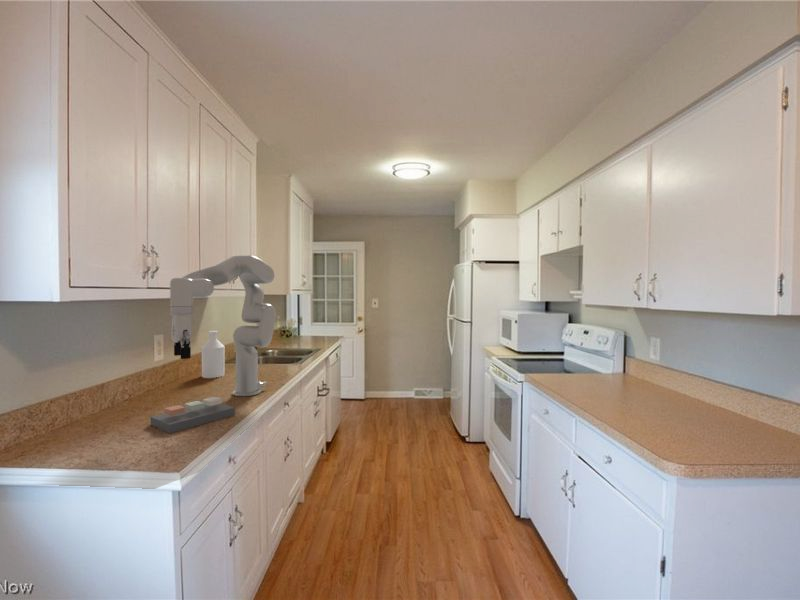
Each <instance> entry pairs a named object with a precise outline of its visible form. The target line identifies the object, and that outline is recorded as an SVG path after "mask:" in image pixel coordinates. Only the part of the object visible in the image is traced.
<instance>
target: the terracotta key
mask: <svg viewBox="0 0 800 600" xmlns="http://www.w3.org/2000/svg"><path fill="white" fill-rule="evenodd" d="M163 410H164V412H163V414H168V415H170V416H172V415H176V414H180V413H184V412H185V407H184V406H183V405H179V404H178V405H172V406H168V407H164V409H163Z"/></svg>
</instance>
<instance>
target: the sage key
mask: <svg viewBox="0 0 800 600" xmlns="http://www.w3.org/2000/svg"><path fill="white" fill-rule="evenodd" d="M183 405H184V406H183V407H185V409H187V410H190V411H192V410H196V409H200V408H204V403H203V401H199V400H194V401H190V402H186V403H184V404H183Z"/></svg>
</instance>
